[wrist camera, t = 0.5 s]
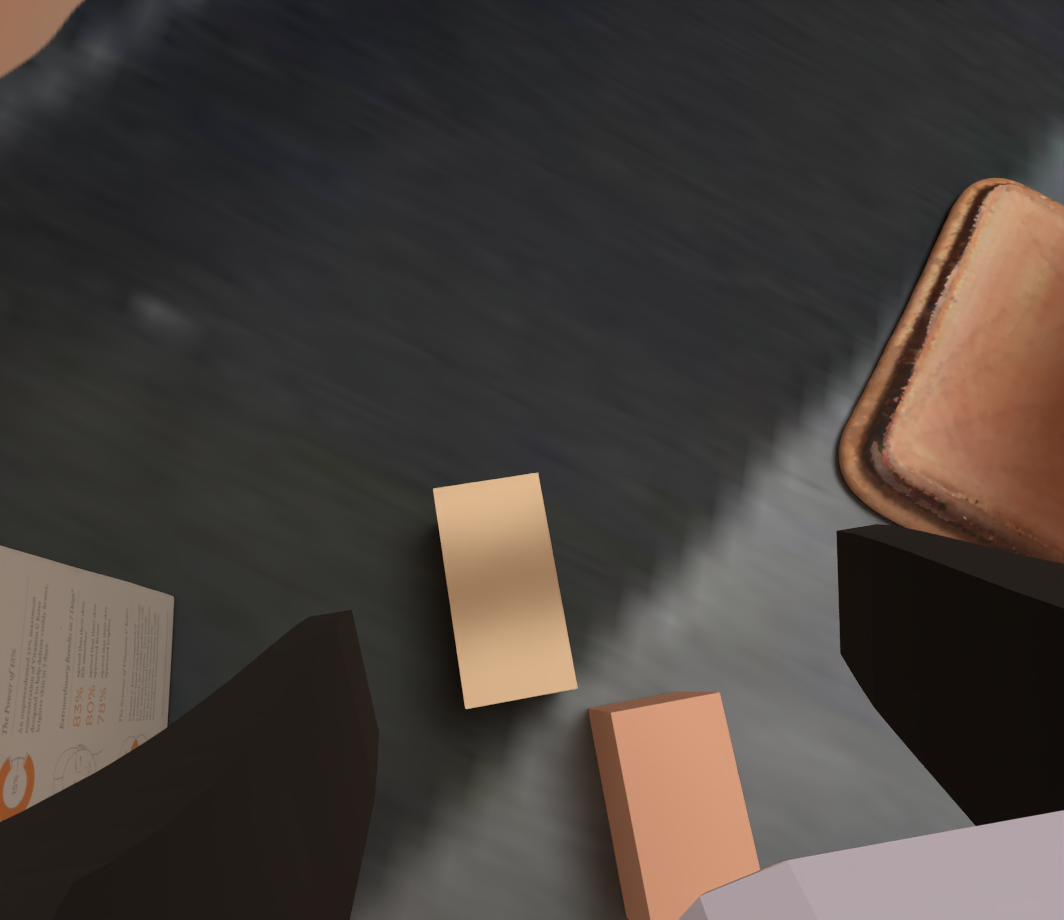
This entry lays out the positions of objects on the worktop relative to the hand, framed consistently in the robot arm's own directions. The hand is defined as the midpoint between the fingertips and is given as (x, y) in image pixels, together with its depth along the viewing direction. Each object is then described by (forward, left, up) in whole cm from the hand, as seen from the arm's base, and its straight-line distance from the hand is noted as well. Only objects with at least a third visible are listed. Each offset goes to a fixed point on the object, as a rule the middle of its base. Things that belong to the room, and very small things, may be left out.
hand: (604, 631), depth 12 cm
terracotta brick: (-6, -4, -23) cm, 25 cm away
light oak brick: (+3, +1, -23) cm, 23 cm away
